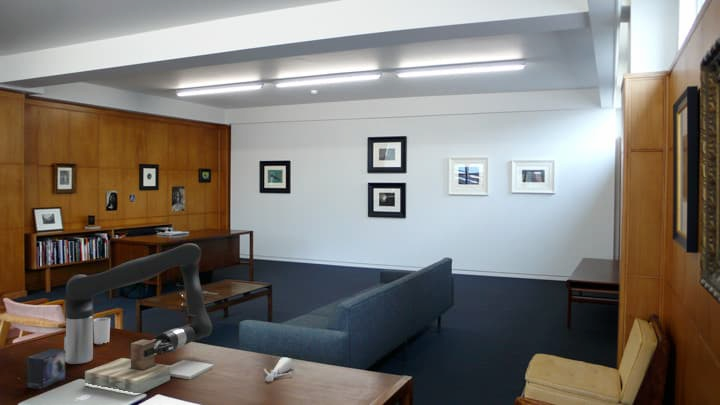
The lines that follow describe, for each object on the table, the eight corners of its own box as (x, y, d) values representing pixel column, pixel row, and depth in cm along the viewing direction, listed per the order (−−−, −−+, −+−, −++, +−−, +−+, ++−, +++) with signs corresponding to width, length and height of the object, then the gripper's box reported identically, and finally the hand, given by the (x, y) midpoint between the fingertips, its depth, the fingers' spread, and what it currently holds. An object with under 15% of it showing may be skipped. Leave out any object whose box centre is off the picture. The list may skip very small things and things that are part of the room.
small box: (42, 390, 173) (42, 358, 173) (25, 388, 174) (25, 357, 174) (66, 379, 183) (66, 349, 183) (50, 377, 184) (50, 348, 184)
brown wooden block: (130, 377, 181) (130, 343, 181) (142, 372, 186) (142, 339, 186) (143, 379, 179) (143, 345, 179) (154, 374, 184) (154, 341, 184)
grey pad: (157, 373, 190) (157, 371, 190) (183, 362, 203) (183, 359, 203) (189, 379, 185) (189, 376, 185) (213, 367, 198) (213, 364, 198)
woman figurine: (302, 356, 199) (282, 375, 181) (302, 367, 199) (282, 387, 182) (274, 353, 202) (252, 371, 185) (275, 364, 202) (252, 383, 185)
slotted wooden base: (84, 386, 177) (84, 371, 176) (121, 371, 192) (121, 357, 192) (136, 396, 169) (136, 380, 169) (170, 379, 184) (170, 365, 184)
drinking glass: (113, 341, 229) (113, 318, 229) (100, 345, 223) (100, 322, 223) (103, 339, 232) (103, 316, 232) (89, 343, 226) (89, 320, 226)
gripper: (155, 328, 198) (121, 339, 182) (186, 332, 193) (154, 344, 177) (155, 348, 198) (121, 361, 182) (186, 352, 193) (153, 366, 177)
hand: (137, 353), depth 180 cm, fingers closed on brown wooden block, 5 cm apart
